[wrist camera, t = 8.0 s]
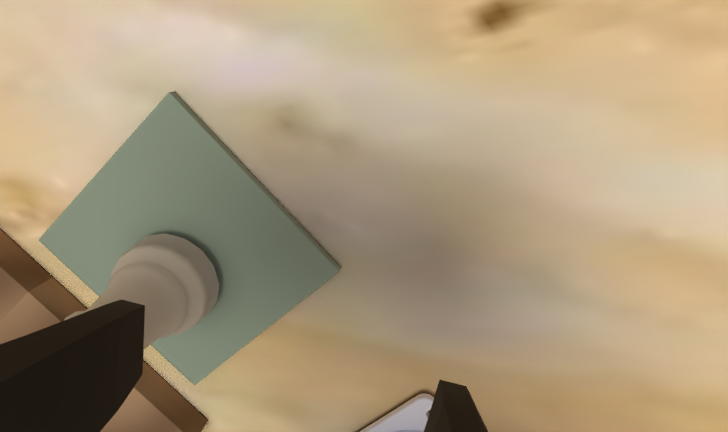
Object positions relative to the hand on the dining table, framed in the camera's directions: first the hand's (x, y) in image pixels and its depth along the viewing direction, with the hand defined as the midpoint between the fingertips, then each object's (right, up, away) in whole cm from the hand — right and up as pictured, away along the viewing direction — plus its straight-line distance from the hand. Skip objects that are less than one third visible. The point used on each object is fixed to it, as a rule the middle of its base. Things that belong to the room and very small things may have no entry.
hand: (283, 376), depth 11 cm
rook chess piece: (-7, +1, +11) cm, 13 cm away
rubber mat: (-6, +2, +10) cm, 12 cm away
